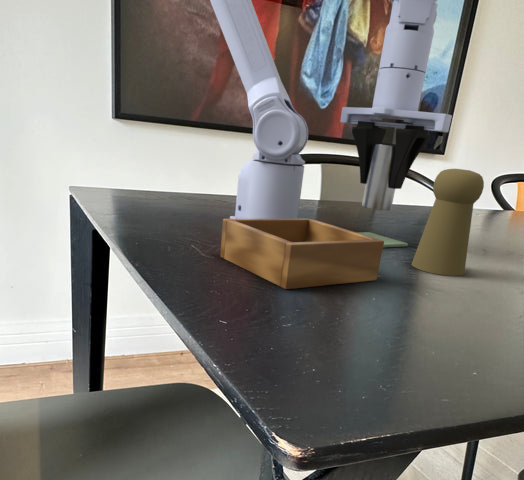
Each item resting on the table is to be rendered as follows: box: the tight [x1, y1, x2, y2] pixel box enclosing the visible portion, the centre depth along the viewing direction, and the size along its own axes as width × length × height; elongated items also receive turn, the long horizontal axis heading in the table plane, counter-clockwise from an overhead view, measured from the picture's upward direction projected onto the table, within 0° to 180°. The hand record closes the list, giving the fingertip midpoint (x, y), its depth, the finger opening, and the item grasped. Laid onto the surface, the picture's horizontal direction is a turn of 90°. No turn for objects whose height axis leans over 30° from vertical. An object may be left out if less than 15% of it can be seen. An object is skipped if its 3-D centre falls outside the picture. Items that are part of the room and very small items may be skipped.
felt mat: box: [358, 231, 409, 249], centre depth 70 cm, size 8×8×1 cm
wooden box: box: [219, 217, 384, 290], centre depth 50 cm, size 12×12×4 cm
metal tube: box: [361, 144, 396, 211], centre depth 67 cm, size 4×4×8 cm
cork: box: [411, 168, 485, 277], centre depth 56 cm, size 6×6×11 cm
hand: (380, 185), depth 67 cm, fingers closed on metal tube, 4 cm apart
